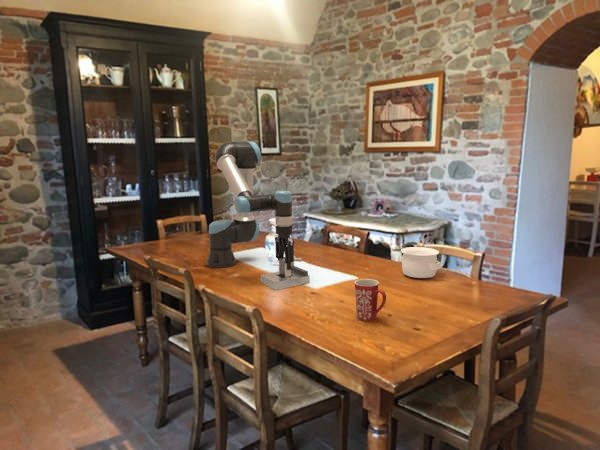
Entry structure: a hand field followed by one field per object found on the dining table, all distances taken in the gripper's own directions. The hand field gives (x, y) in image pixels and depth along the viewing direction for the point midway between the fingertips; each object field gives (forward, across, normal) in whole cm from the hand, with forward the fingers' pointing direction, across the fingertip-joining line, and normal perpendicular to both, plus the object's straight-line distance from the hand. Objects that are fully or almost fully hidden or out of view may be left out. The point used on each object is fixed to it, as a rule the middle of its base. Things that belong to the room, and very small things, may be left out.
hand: (285, 275), depth 216 cm
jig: (+4, 0, 0) cm, 4 cm away
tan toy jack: (+3, -18, +15) cm, 24 cm away
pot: (+4, +27, +59) cm, 65 cm away
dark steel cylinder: (+2, 0, 0) cm, 2 cm away
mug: (+5, +56, +3) cm, 56 cm away
